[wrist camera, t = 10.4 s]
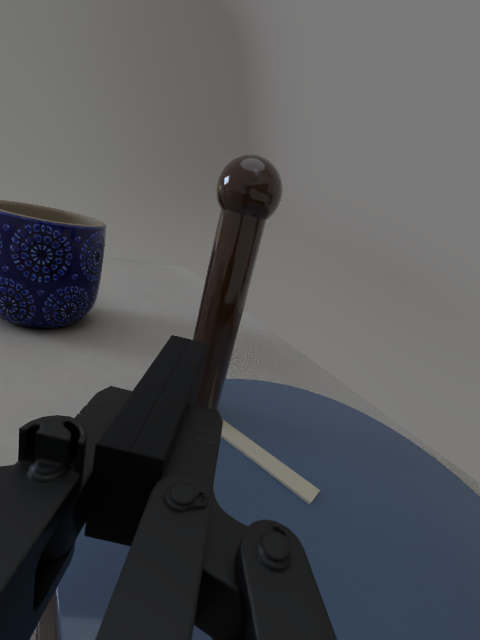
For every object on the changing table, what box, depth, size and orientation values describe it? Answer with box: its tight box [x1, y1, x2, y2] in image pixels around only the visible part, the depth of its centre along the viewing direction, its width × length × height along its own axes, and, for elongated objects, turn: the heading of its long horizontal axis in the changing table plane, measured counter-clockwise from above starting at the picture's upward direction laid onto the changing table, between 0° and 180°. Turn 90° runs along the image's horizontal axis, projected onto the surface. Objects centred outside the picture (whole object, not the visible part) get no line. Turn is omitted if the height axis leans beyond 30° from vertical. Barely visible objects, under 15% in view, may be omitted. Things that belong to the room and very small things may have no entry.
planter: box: [0, 200, 106, 328], centre depth 34 cm, size 11×11×11 cm
